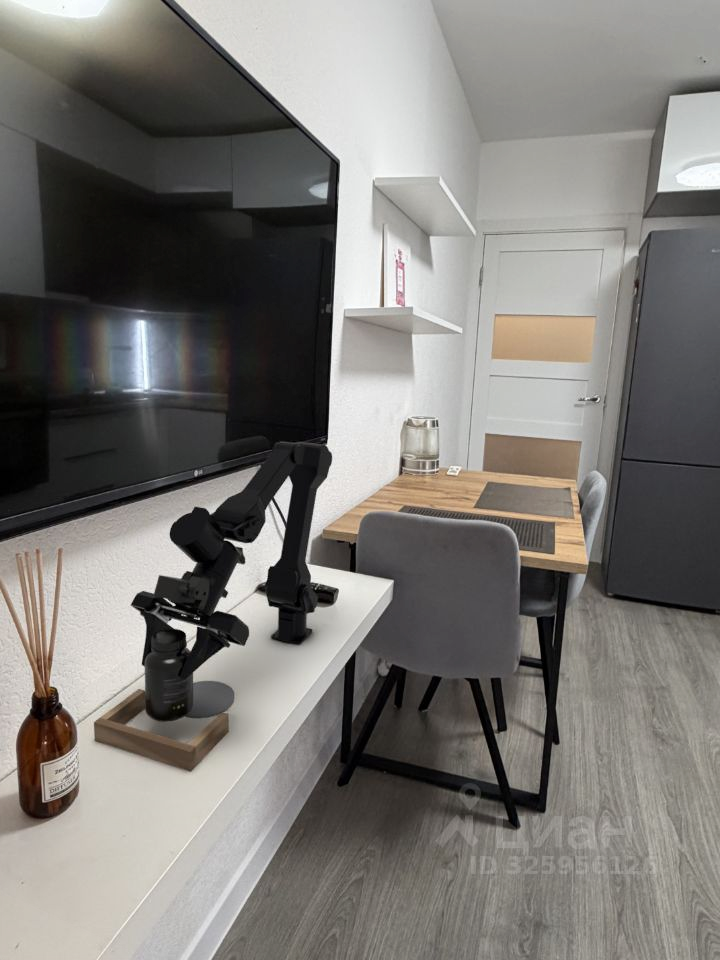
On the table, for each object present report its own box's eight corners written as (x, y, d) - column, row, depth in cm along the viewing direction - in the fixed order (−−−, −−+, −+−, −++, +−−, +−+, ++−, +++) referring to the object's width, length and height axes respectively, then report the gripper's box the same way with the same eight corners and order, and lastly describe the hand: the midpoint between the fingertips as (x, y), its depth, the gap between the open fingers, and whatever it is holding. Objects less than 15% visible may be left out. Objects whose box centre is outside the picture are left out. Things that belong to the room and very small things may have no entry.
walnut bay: (139, 705, 95) (138, 688, 94) (228, 731, 90) (228, 713, 89) (94, 740, 86) (93, 722, 86) (190, 771, 81) (190, 751, 80)
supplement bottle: (138, 706, 89) (136, 632, 87) (181, 692, 94) (181, 621, 91) (156, 729, 84) (155, 650, 82) (201, 713, 88) (201, 638, 86)
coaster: (195, 678, 104) (195, 675, 104) (246, 691, 100) (246, 688, 100) (158, 709, 94) (158, 706, 94) (212, 724, 91) (212, 721, 91)
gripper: (137, 541, 91) (81, 637, 84) (237, 563, 84) (185, 671, 76) (174, 573, 100) (126, 663, 92) (268, 596, 92) (224, 695, 85)
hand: (162, 672), depth 86 cm, fingers closed on supplement bottle, 7 cm apart
